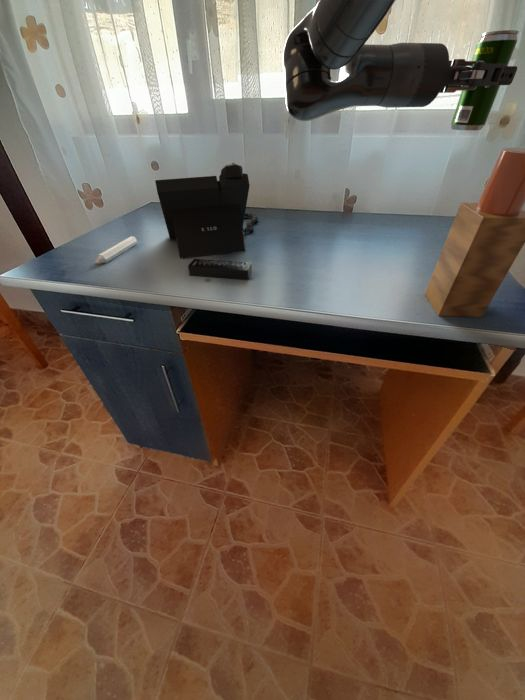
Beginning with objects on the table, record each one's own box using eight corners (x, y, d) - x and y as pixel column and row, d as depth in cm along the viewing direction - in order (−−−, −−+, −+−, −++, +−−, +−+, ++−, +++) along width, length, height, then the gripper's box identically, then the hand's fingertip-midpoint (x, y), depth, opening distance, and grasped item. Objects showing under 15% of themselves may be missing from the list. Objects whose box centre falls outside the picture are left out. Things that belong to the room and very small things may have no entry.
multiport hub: (248, 280, 68) (247, 270, 67) (188, 275, 70) (187, 266, 69) (252, 271, 71) (251, 262, 70) (195, 267, 73) (193, 258, 72)
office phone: (255, 216, 103) (253, 146, 90) (279, 247, 82) (282, 162, 69) (168, 224, 97) (153, 151, 84) (171, 259, 77) (152, 170, 64)
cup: (506, 204, 50) (535, 147, 44) (528, 216, 45) (562, 153, 40) (469, 204, 50) (493, 147, 45) (487, 215, 46) (515, 153, 40)
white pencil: (96, 270, 74) (134, 245, 86) (100, 267, 73) (138, 242, 85) (88, 261, 73) (128, 237, 84) (92, 258, 72) (132, 234, 83)
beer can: (477, 131, 51) (515, 28, 43) (444, 129, 54) (475, 33, 46) (487, 129, 54) (525, 32, 46) (456, 127, 57) (486, 36, 49)
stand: (463, 295, 62) (509, 203, 50) (481, 317, 56) (539, 218, 44) (424, 294, 63) (460, 202, 51) (438, 315, 57) (483, 217, 45)
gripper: (445, 35, 39) (552, 38, 42) (389, 48, 50) (476, 50, 52) (425, 108, 44) (522, 106, 47) (378, 106, 55) (458, 105, 57)
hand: (497, 76), depth 49 cm, fingers closed on beer can, 5 cm apart
